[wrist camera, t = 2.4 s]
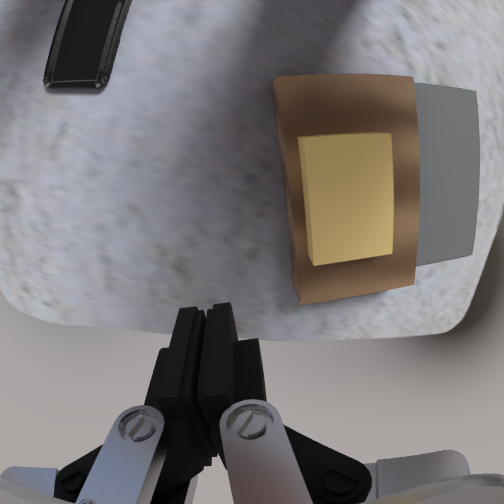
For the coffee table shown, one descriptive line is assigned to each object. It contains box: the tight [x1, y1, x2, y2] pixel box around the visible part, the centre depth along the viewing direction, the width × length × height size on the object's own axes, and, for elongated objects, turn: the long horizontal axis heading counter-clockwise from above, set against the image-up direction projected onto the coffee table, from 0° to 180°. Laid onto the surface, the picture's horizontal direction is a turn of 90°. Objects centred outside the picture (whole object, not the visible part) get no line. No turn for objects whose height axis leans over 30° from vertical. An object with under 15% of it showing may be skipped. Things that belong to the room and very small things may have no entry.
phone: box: [43, 0, 132, 89], centre depth 20 cm, size 8×1×15 cm
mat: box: [414, 83, 480, 266], centre depth 28 cm, size 20×11×1 cm, turn 7°
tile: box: [298, 132, 394, 266], centre depth 24 cm, size 10×7×2 cm
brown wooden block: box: [271, 74, 420, 305], centre depth 26 cm, size 20×12×4 cm, turn 7°
